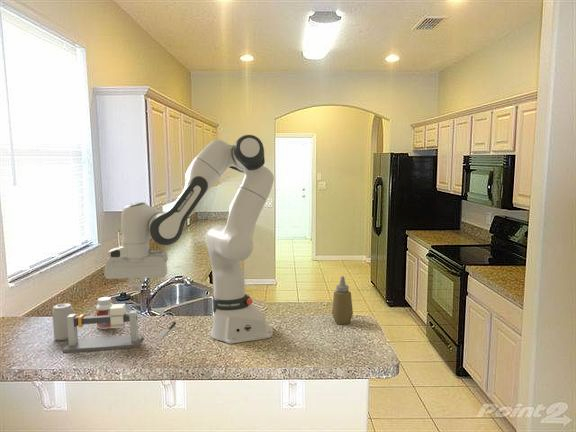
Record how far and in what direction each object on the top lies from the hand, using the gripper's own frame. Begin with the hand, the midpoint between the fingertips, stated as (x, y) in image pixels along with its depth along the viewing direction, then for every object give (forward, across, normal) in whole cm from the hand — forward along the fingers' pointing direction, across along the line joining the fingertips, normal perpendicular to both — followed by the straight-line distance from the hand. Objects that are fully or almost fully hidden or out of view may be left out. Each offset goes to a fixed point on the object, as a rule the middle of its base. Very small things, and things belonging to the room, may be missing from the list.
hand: (136, 290), depth 149 cm
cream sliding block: (+12, +6, 0) cm, 14 cm away
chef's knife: (+19, -8, -8) cm, 22 cm away
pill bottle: (+19, +15, -18) cm, 30 cm away
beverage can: (+19, +27, -9) cm, 35 cm away
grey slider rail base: (+19, +11, 0) cm, 22 cm away
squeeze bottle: (+17, -75, -6) cm, 77 cm away
